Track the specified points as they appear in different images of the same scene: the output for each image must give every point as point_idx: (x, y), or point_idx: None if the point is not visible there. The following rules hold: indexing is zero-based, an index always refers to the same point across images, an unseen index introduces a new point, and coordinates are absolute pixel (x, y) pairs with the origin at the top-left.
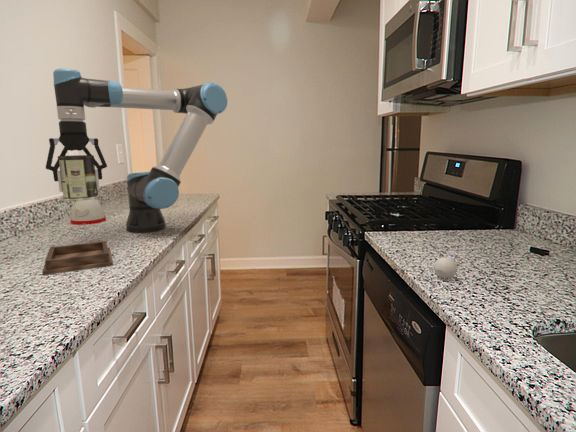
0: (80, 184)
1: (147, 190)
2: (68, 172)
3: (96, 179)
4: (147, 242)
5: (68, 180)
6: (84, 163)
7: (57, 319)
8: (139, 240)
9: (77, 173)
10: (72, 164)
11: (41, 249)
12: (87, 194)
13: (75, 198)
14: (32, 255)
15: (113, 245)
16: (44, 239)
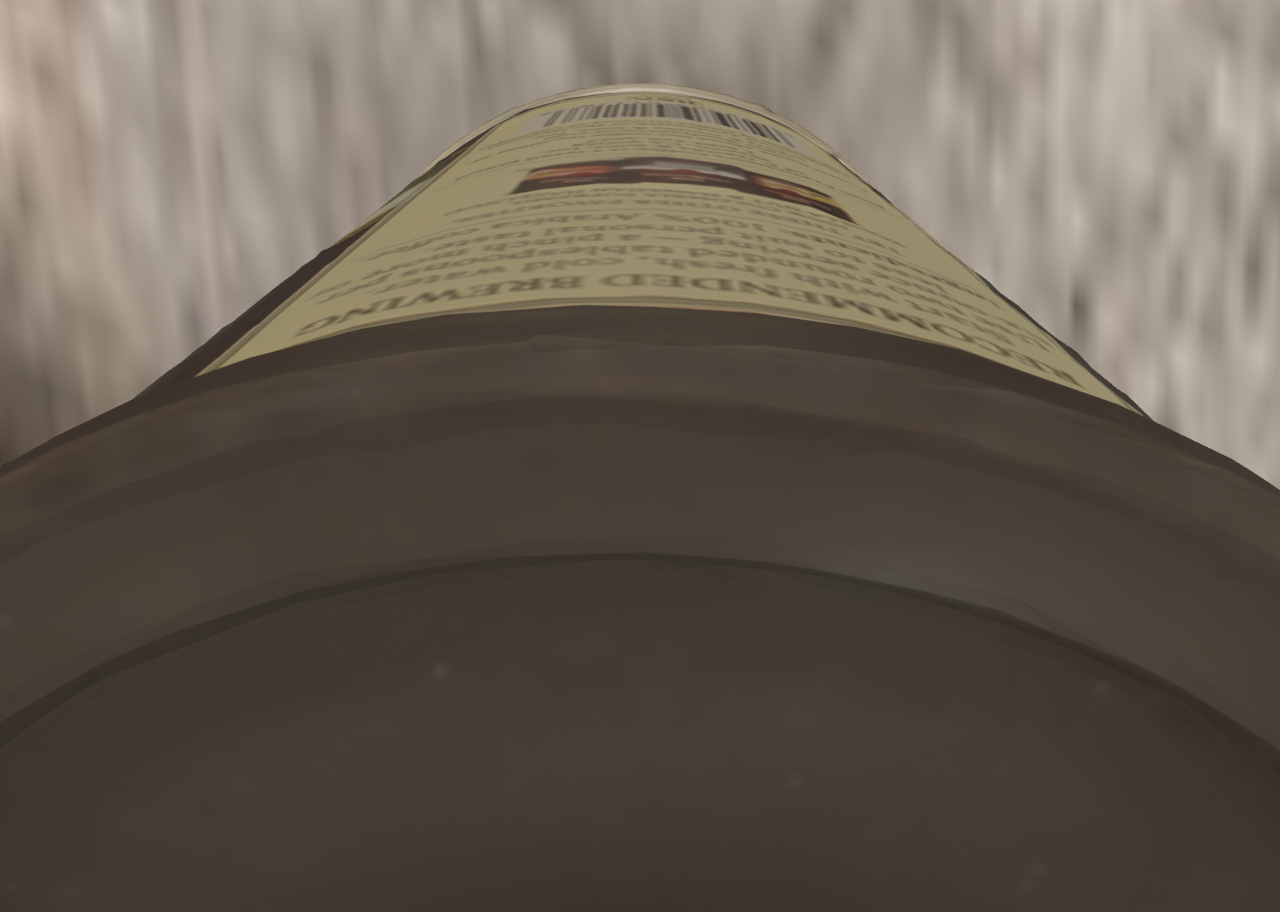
0: (583, 130)
1: None
2: (929, 247)
3: None
4: (13, 102)
5: (895, 209)
6: (210, 348)
7: None
8: (115, 240)
9: (616, 162)
10: (795, 257)
11: (1061, 294)
12: (483, 133)
13: (725, 100)
14: (1146, 74)
15: (375, 134)
16: None
